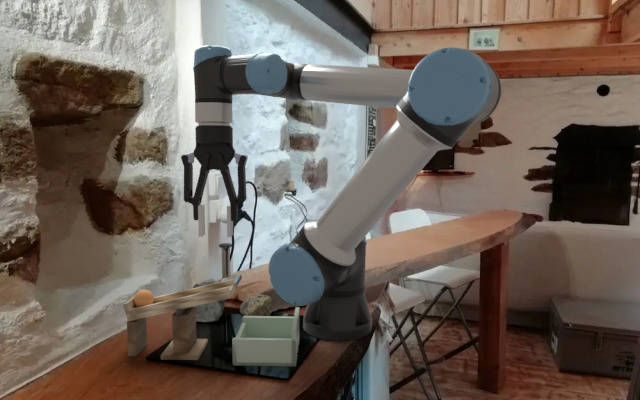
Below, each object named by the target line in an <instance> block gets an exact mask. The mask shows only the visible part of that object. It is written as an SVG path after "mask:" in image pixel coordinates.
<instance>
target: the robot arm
mask: <svg viewBox="0 0 640 400" xmlns="http://www.w3.org/2000/svg"><path fill="white" fill-rule="evenodd" d="M193 61H194V62H193V68H192V70H193V79H194V81H193V82H194V118H195V119H194V121H195V123H197V125H196V126H195V128H194V129H195V148H194V150H193V152H190V153H187V154H182V155H181V156H180V159H181V163H182V165H183V201H184V202H185V203H188V204H191V205H192V210H193V211H192V213H193V220H194V221H198V223H197V225H198V238H200V237H201V238H202V237H204V236H205V235H206V212H205V211H206V210H205V209H206V208H205V206H206V204H205V203H204V204H202V202H203V201H202V200H203V196H204V192H205V189H206V184H207V179H208V176H209V174H210V171H212V170H215V171H220V172H219V173H220V174H221V176H222V180H223V182H224V186H225V190H226V194H227V196H228V200H229V204H227V205H226V237H227V238H232V236H233V235H234V222H235V221H238V218H239V210H238V209H239V207H238V206H239V204H243V203H244V202H246V201H247V180H246V165H247V161H248V159H249V158H248V154H247V155H246V154H240V153H238V152H236V150H235V149H234V139H233V137H234V136H233V135H234V134H233V133H234V132H233V130H234V129H233V126H232V125H231V124H232V123H233V95H234V96H236V95H258V96H259V95H260V96H266V97H273V98H281V99H287V100H292V101H297V100H298V101H299V100H300V101H301V100H302V101H313V102H324V103H332V104H333V103H334V104H344V105H356V106H367V107H375V108H376V107H378V108H385V109H386V108H387V109H396V115H397V117H396V120H395V121H394V123H393V124H392V125H391V126H390V128H389V129H388V130H387V131H386V133H385V134H384V135H383V136H382V138H381V139H380V141H378V143H377V144H376V146H375V147H374V148H373V150H372V151H371V152H370V153H369V155H368V156H367V157H366V159H365V160H364V161H363V162H362V163H361V165H360V166H359V167H358V168H357V170H356V171H355V172H354V173H353V175H352V176H351V177H350V179H349V181H347V183H346V184H345V185H344V187H343V188H342V189H341V190H340V192H339V193H338V194H337V195H336V197H335V198H334V199H333V201H332V202H331V203H330V204H329V206H328V207H327V208H326V210H324V212H323V213H322V215H321V216H320V217H319V219H311V220H308V221H306V222H305V224H304V225H303V226H302V227H301V229H300V230H299V231H298V232H297V234H296V235H295V236H294V237H293V238H292V240H291V241H290V242H289V243H287V244H283V245H281V246H279V248H278V249H276V250H275V251H274V252H273V253H272V254H271V257H270V260H269V263H268V274H269V280H270V283H271V286H272V288H273V289H274V291H275V292H276V293H277V295H278V296H279V297H280V298H281V299H282V300H283V301H285V302H287V303H289V304H290V305H294V306H297V307H303V306H306V308H305V311H304V314H303V318H302V319H303V321H302V328H303V330H304V332H305V333H306V334H308V335H310V336H311V337H314V338H317V337H318V338H317V339H321V340H327V341H340V342H341V341H342V342H343V341H345V342H346V341H352V340H358V339H361V338H364V337H366V336H369V334H370V333H372V330H373V317H372V314H371V311H370V308H369V303H368V301H367V297H366V295H365V294H366V293H365V291H366V290H365V289H366V288H365V287H366V254H367V243H368V242H367V241H366V236H367V235H368V233H369V232H370V231H371V230H372V229H373V228H374V227H375V225H377V223H378V222H379V221H381V220H380V219H381V218H382V217H383V216H384V215H385V214H386V212H387V211H388V210H389V209H390V208H391V207H392V206H393V204H394V203H395V202H396V201H397V199H398V198H399V197H400V196H401V195H402V193H403V192H404V191H405V190H406V189H407V188H408V187H409V186H410V184H412V181H414V179H416V178H417V176H418V175H419V174H420V173H421V171H422V170H423V169H424V168H425V166H426V165H427V164H428V163H429V162H430V160H432V158H433V157H434V156H435V155H436V153H437V152H440V151H444V150H452V149H453V147H455V146H456V144H457V143H458V142H459V141H460V140H461V138H462V137H463V136H464V135H465V134H466V133H467V132H468V130H469V129H470V128H471V127H472V126H474V125H478V124H480V123H482V122H484V121H485V120H487V119H488V118H489V117H490V116H492V115H493V113H494V112H495V111H496V109H497V107H498V106H499V103H500V101H501V98H502V85H501V80H500V77H499V75H498V72H497V71H496V70H495V68H493V67H492V66H491V65H490V64H488V63H487V62H486V61H485V60H484V59H483V58H482V57H481V56H480V55H479V54H477V53H474V52H473V51H471V50H468V49H466V48H461V47H455V46H454V47H451V46H450V47H443V48H439V49H437V50H434V51H432V52H430V53H429V54H426V55H425V56H424V57H423V58H422V59H421V60H420V61H418V63H417V64H416V66H414V69H404V68H401V69H400V68H385V67H384V68H383V67H368V66H366V67H364V66H350V65H349V66H348V65H346V66H345V65H332V64H331V65H327V64H325V65H324V64H310V63H296V62H294V63H293V62H287V61H284V59H282V57H281V55H280V54H278V53H274V52H272V53H268V52H266V53H265V52H258V53H252V54H251V53H250V54H243V55H233V54H232V50H231V49H230V48H229V47H226V46H223V45H222V46H221V45H201V46H198V47H196V48H195V51H194V55H193ZM233 159H235V164H236V165H237V187H238V191H237V193H238V196H237V194H236V189H235V187H234V182H233V180H232V175H231V171H230V167H229V165H230V163H231V162H232V160H233ZM195 160H197V161H198V163H199V164H200V165H201V166H200V169H199V175H198V180H197V183H196V187H195V191H194V192H193V190H194V188H193V187H194V180H193V179H194V177H193V176H194V172H193V171H194V166H193V164H194V162H195Z"/></svg>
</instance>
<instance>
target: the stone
mask: <svg viewBox="0 0 640 400" xmlns="http://www.w3.org/2000/svg"><path fill="white" fill-rule="evenodd" d="M218 282H220V281H219V280H217V279H213V278H210V279H207V280H204V281H202V282H198V283H197V284H194V285H193V287H192V288H197V287H201V286H205V285H209V284H214V283H218ZM226 301H227V299H223V300H219V301H215V302H210V303H206V304H202V305H197V306H196V323H198V322H199V323H200V322H201V323H212V322H216V321H219V320H220V319H221V316H222V315H223V311H224V310H225V305H226V304H225V303H226Z"/></svg>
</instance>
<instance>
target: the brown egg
mask: <svg viewBox="0 0 640 400" xmlns="http://www.w3.org/2000/svg"><path fill="white" fill-rule="evenodd" d="M135 294H136V295H135ZM135 294H134V295H135V297H134V303H135V305H136V306H137V307H142V306H146V305H151V304H152V303H153V300H154V297H155V296H154V295H153V292H151V291H150V290H148V289H141V290H138V291H137V292H136V293H135Z"/></svg>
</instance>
